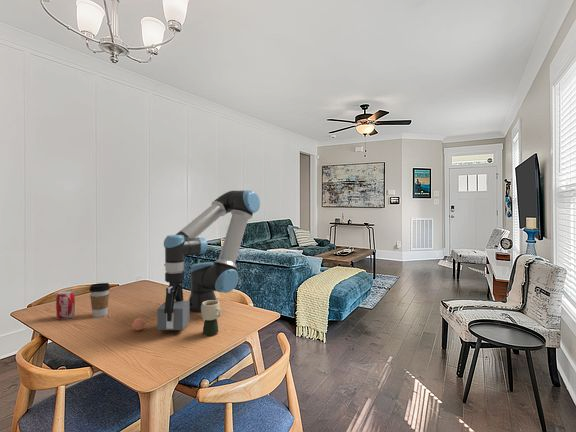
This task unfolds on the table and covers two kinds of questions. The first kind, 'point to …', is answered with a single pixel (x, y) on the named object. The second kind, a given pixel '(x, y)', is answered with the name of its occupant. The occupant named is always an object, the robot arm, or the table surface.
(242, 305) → the table surface
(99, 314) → the coffee cup
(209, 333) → the character mug
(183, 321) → the grey cubic block
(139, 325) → the ball
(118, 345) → the table surface
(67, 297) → the soda can
